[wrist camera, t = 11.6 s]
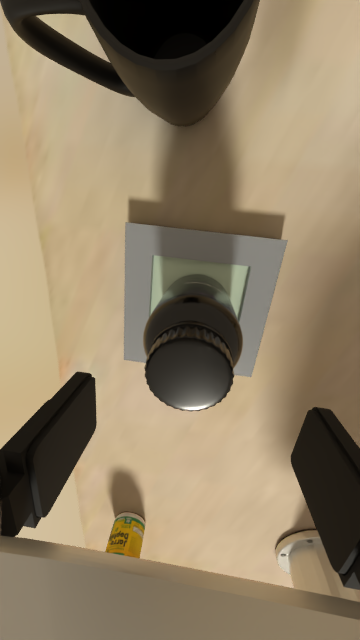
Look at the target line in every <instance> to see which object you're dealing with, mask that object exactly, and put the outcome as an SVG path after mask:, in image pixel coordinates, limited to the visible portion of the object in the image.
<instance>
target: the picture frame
mask: <svg viewBox="0 0 360 640" xmlns="http://www.w3.org/2000/svg"><path fill="white" fill-rule="evenodd" d="M287 241H288V240H280V239H271V238H262V237H253V236H244V235H235V234H226V233H217V232H208V231H199V230H190V229H181V228H172V227H163V226H154V225H145V224H136V223H127V222H126V227H125V311H124V360H129V361H136V362H144V363H146V359H147V357H146V354H145V351H144V346H143V333H144V329H145V326H146V323H147V321H148V319H149V317H150V315H151V314H152V312H153V310H154V309H155V307H156V306H157V304H158V303H159V301H160V300H161V298H162V297H163V295H164V293H165V292H166V290H167V289H168V288H169V287H170V285H171V284H172V283H174V282H175V281H176V280H178V279H179V278H181V277H184V276H187V275H192V274H201V275H206V276H209V277H211V278H213V279H215V280H216V281H218V282H219V283H220V284H221V285H222V286H223V287H224V288H225V290H226V291H227V293H228V295H229V298H230V300H231V303H232V306H233V308H234V311H235V313H236V316H237V319H238V321H239V324H240V327H241V331H242V336H243V348H242V353H241V356H240V359H239V361H238V363H237V364H236V366H235V367H234V369H233V371H234V375H240V376H247V377H251V376H252V372H253V369H254V365H255V361H256V357H257V354H258V350H259V346H260V342H261V338H262V335H263V331H264V327H265V323H266V320H267V316H268V312H269V308H270V305H271V301H272V297H273V293H274V290H275V286H276V282H277V278H278V274H279V271H280V267H281V263H282V259H283V256H284V252H285V248H286V244H287Z"/></svg>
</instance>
